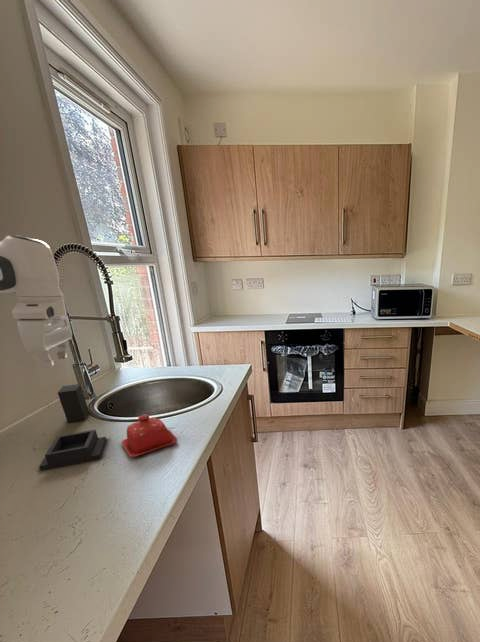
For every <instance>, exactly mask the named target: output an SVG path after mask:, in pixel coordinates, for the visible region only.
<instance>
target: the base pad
mask: <svg viewBox="0 0 480 642" xmlns="http://www.w3.org/2000/svg"><path fill="white" fill-rule="evenodd" d="M107 440H108V439H107V437H106V436H102V437H101V436H100V437H98V433H97V430H96V429H91V430H84V431H79V432H73V433H67V434H62V435H57V436H56V437H55V439H54V440H53V441H52V443H51V444H50V446H49V448H48V449H47V451H46V452H45V454H44V458H43V460H42V461H41V463H40V464H39V466H38V467H39V470H40V471H45V470H50V469H56V468H60V467H64V466H71V465H75V464H79V463H80V464H81V463H85V462H89V461H95V460H100V459H101V458H102V455H103V453H104V449H105V448H106V447H105V446H106V444H107Z"/></svg>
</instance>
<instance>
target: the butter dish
mask: <svg viewBox="0 0 480 642" xmlns="http://www.w3.org/2000/svg"><path fill="white" fill-rule="evenodd" d="M137 419H138V421H136V422H133V423H131V424H129V425H128V426H127V427H126V438H125V439H123V440H121V445H122V446H123V448H124V450H125V451H126V453H127V454H128V456H129V457H130V458H135V457H139V456H142V455H144V454H147V453H150V452H153V451H156V450H159V449H162V448H165V447H168V446H171V445H173V444H176V443H177V442H178V438H177V437H176V436H175V435H174V433H172V431H171V430H170V429H169V428H167V426H166V425H165V423H164V422H163V421H162V420H161V419H160V418H156V417H151V418H150V415H149V414H141V415H139V416H138V418H137Z"/></svg>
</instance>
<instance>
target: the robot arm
mask: <svg viewBox="0 0 480 642" xmlns="http://www.w3.org/2000/svg"><path fill="white" fill-rule="evenodd" d="M10 293H16V295H17V299H18V301H17V303H16V305H15V306H14V308H13V309H11V314H12V318H13V319H14V320H17V330H18V332H19V336H20V339H21V342H22V346H23V347H24V349H25V350H26V351H27V353H36V354H37V355H36V356H38V358H39V359H40V361H41V364H42V367H43V368H47V369H49V368H52V367H54V366H55V363H54V358H52V357H51V355H50V354H51V352H50V350H51V349H53V348H55V347H56V350H57V352H56V356H57V359H59V360H65V359H67V358H68V353H67V350H68V349H67V348H68V347H67V346H68V342H67V341H69V340H71V339H73V331H72V327H71V323H70V320H69V316H68V312H67V308H66V303H65V298H64V294H63V291H62V290H61V288H60V275H59V272H58V266H57V263H56V259H55V256H54V254H53V251H52V249H51V247H50V245H48V244H47V242H44V241H43V240H40V239H37V238H32V237H27V236H22V235H17V234H8V235H6V236H5V237H4V238H3V239H2V240H0V294H10Z"/></svg>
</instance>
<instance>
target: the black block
mask: <svg viewBox="0 0 480 642" xmlns="http://www.w3.org/2000/svg"><path fill="white" fill-rule="evenodd" d="M82 388H83V387H82V385H81V383H76V384H69V385H62V387H61V388H60V389H59V390H58V392H57V396H58V398H59V402H60V405H61V408H62V410H63V413H64V415H65V419H66V422H67V423H75V422H81V421H86V420H87V418H88V417H89V416H88V415H89V414H90V410H89V407H88V404H87V401H86V397H85V395H84V392H83V389H82Z"/></svg>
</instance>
